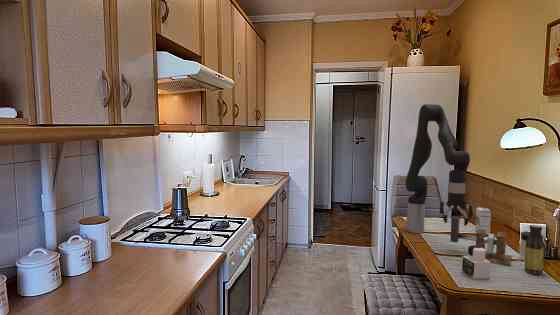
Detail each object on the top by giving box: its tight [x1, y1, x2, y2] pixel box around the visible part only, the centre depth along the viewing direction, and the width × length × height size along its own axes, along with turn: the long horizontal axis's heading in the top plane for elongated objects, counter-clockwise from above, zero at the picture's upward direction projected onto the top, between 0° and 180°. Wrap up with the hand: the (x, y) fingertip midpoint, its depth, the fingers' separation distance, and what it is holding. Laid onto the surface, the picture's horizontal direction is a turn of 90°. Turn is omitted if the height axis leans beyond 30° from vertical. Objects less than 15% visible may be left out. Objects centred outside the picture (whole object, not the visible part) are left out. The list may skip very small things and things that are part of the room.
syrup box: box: [475, 207, 491, 236], centre depth 186 cm, size 6×6×14 cm
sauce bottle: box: [524, 224, 545, 275], centre depth 134 cm, size 6×6×20 cm
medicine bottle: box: [461, 244, 491, 280], centre depth 132 cm, size 7×7×12 cm
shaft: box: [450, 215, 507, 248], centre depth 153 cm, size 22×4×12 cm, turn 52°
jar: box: [519, 231, 544, 262], centre depth 148 cm, size 9×8×12 cm
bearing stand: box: [475, 229, 512, 267], centre depth 150 cm, size 16×12×12 cm
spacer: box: [486, 233, 495, 253], centre depth 150 cm, size 2×7×7 cm, turn 142°
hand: (455, 223), depth 158 cm, fingers open, 8 cm apart
